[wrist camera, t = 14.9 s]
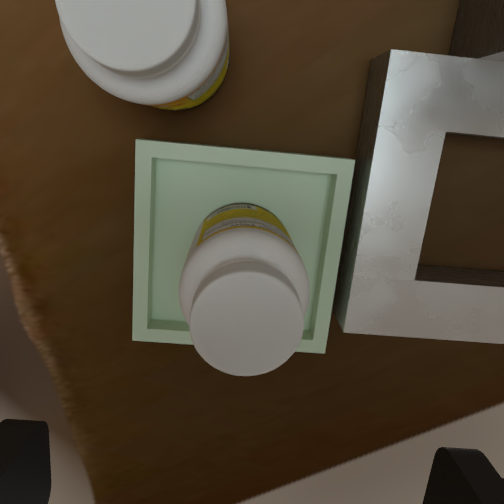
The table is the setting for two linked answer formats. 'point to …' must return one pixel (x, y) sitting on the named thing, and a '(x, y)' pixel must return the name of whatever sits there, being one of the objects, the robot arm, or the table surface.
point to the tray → (222, 193)
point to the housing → (420, 188)
